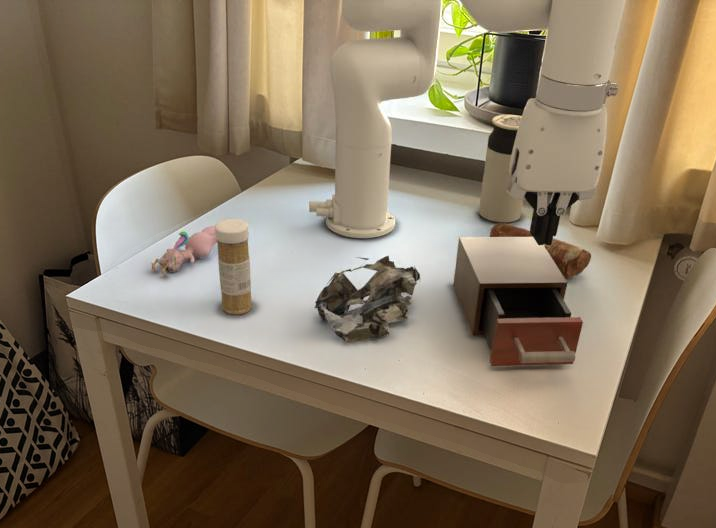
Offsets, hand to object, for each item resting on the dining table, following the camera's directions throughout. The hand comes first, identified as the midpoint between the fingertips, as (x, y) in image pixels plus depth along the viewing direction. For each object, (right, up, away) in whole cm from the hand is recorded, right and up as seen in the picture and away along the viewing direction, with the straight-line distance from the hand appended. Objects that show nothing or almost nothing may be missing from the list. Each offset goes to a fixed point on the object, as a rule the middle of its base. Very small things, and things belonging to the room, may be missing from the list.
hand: (541, 240), depth 96 cm
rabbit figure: (-51, +1, +28) cm, 58 cm away
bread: (+5, +2, +34) cm, 35 cm away
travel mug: (+2, +12, +50) cm, 51 cm away
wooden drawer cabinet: (-2, -7, +20) cm, 22 cm away
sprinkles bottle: (-42, -8, +17) cm, 45 cm away
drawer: (0, -13, +10) cm, 17 cm away
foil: (-22, -9, +16) cm, 29 cm away
